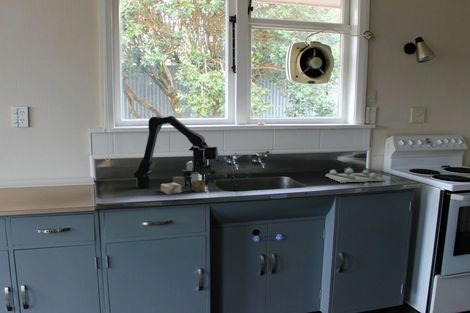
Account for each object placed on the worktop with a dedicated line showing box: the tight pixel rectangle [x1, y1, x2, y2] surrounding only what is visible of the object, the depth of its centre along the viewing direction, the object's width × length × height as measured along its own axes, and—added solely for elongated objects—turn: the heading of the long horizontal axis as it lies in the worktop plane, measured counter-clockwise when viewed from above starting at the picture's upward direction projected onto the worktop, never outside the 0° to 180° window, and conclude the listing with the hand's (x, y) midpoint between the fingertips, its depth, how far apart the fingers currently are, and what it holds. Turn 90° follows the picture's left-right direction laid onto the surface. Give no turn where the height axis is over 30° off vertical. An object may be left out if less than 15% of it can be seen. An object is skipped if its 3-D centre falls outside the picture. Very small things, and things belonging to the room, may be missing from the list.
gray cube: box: [172, 175, 186, 188], centre depth 226 cm, size 5×5×5 cm
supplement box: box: [186, 160, 203, 185], centre depth 233 cm, size 7×7×13 cm
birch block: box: [160, 182, 182, 195], centre depth 212 cm, size 8×8×4 cm
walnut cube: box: [191, 179, 206, 193], centre depth 216 cm, size 5×5×5 cm
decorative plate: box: [324, 167, 386, 184], centre depth 251 cm, size 30×22×7 cm
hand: (198, 187), depth 216 cm, fingers open, 9 cm apart
